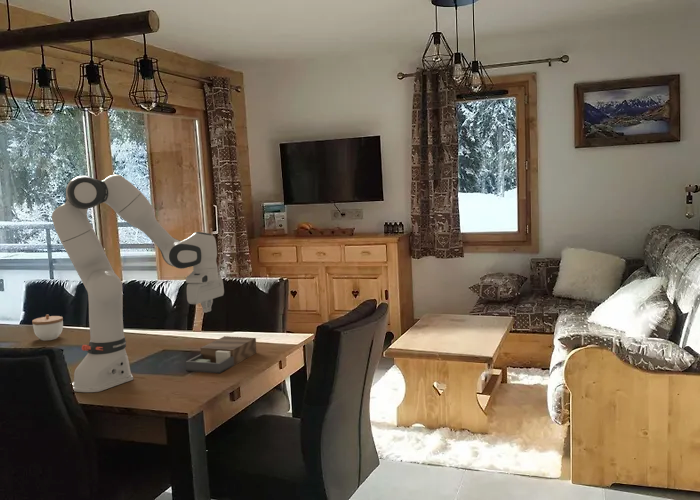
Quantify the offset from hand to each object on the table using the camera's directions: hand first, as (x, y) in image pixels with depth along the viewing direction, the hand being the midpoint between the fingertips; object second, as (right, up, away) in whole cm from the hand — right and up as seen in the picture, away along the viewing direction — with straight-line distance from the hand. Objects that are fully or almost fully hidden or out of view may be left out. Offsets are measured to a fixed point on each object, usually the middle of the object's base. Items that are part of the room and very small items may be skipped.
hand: (207, 311), depth 236 cm
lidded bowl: (-83, -17, +51) cm, 99 cm away
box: (+2, -20, -5) cm, 21 cm away
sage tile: (-1, -18, -4) cm, 18 cm away
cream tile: (+7, -17, -2) cm, 18 cm away
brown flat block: (+7, -19, +9) cm, 22 cm away
